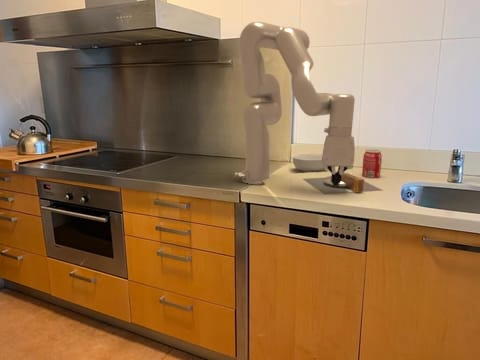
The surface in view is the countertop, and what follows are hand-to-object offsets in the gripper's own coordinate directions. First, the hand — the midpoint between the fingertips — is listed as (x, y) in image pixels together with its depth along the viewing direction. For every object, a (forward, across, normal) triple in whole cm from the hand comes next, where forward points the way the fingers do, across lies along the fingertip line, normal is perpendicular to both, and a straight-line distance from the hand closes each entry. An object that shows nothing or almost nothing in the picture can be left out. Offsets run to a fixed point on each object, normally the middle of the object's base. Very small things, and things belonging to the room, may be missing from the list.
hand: (335, 184), depth 124 cm
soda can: (+4, +19, +24) cm, 31 cm away
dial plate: (+4, +4, +10) cm, 12 cm away
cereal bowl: (+5, -4, +38) cm, 39 cm away
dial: (+2, +5, +7) cm, 9 cm away
